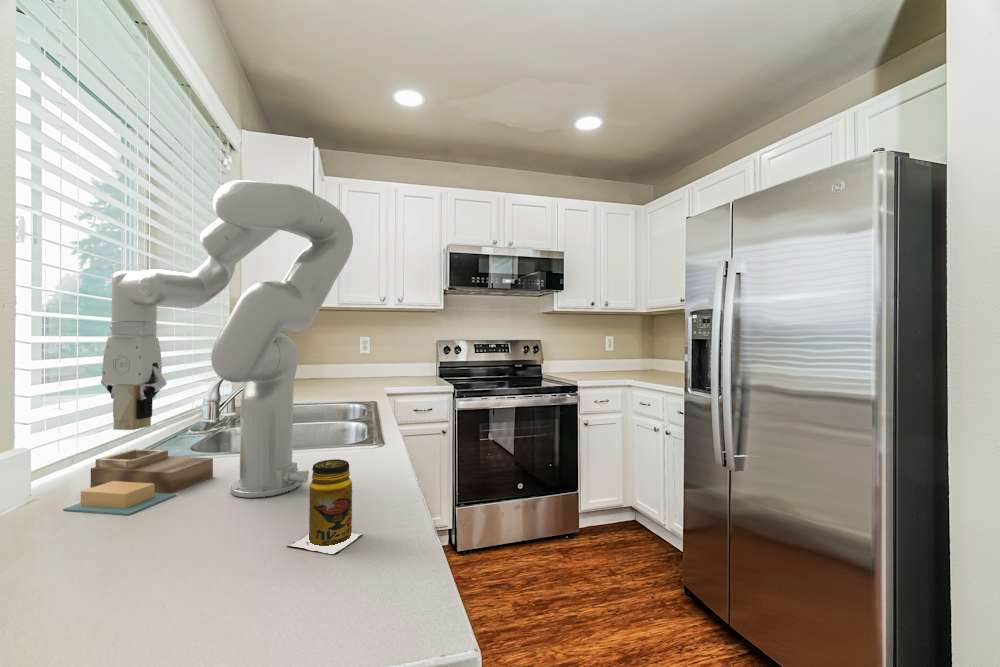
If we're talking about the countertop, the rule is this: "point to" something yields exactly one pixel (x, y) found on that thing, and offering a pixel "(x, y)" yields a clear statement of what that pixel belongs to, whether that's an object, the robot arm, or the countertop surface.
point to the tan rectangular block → (117, 494)
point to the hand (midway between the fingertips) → (132, 416)
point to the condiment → (330, 503)
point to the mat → (122, 511)
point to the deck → (152, 469)
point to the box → (127, 409)
